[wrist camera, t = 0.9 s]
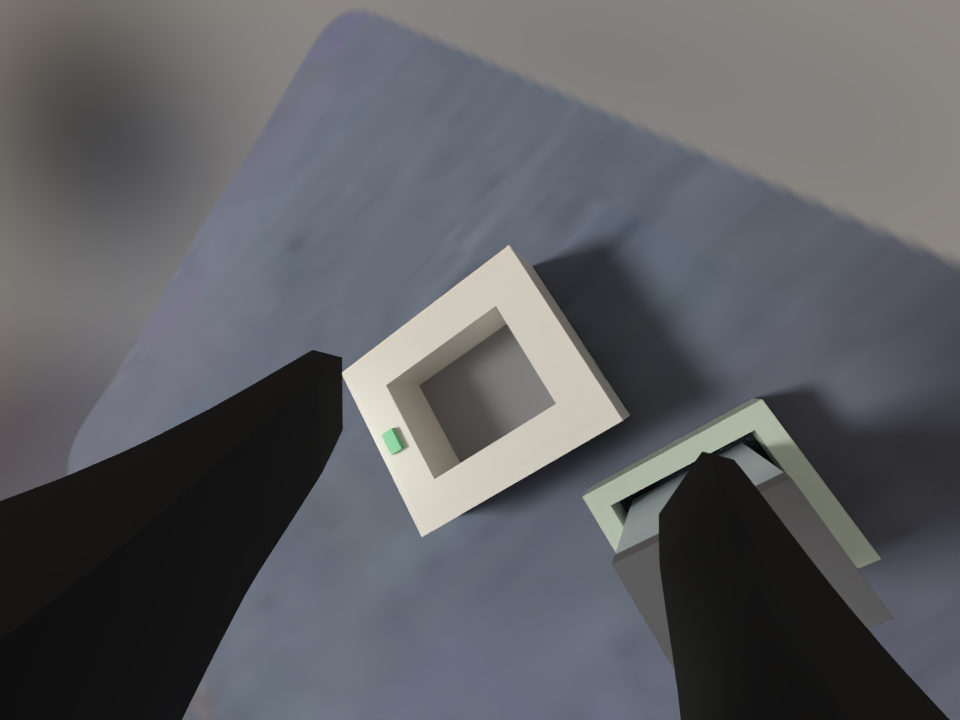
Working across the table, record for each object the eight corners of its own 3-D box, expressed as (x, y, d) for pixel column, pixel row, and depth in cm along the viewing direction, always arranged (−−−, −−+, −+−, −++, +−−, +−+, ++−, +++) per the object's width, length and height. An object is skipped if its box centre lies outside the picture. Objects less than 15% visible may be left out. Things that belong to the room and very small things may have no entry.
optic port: (630, 415, 20) (622, 421, 17) (456, 516, 23) (419, 539, 20) (532, 265, 22) (507, 243, 19) (383, 374, 25) (337, 372, 22)
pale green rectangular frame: (858, 540, 17) (881, 559, 15) (670, 620, 19) (670, 645, 17) (752, 398, 19) (762, 399, 17) (589, 487, 21) (582, 496, 19)
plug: (799, 523, 18) (893, 618, 10) (680, 577, 19) (688, 694, 12) (742, 442, 19) (791, 477, 11) (632, 499, 20) (611, 564, 13)
